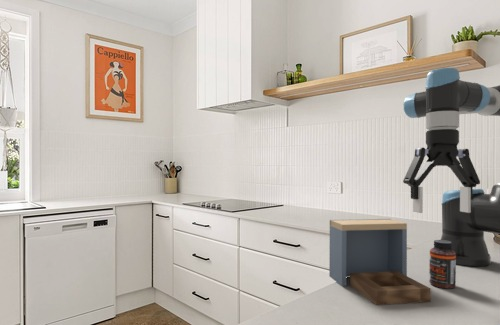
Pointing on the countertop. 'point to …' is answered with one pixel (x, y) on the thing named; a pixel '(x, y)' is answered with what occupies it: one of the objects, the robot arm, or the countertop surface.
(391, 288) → the socket
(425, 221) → the countertop surface
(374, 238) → the blue open cabinet
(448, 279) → the supplement bottle
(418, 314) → the countertop surface
